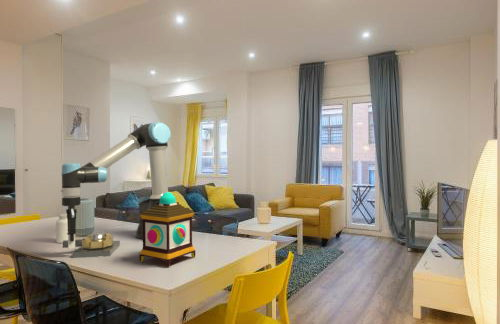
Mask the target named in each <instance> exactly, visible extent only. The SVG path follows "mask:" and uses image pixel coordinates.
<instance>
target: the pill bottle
mask: <svg viewBox="0 0 500 324" xmlns="http://www.w3.org/2000/svg"><path fill="white" fill-rule="evenodd" d="M67 230H68V222H67V213H60V214H58V219H57V220H56V222H55V242H56V243H57V244H58V243H59V244H63V241H64V240H68V235H67V233H68V231H67Z"/></svg>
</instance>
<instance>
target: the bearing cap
mask: <svg viewBox="0 0 500 324" xmlns="http://www.w3.org/2000/svg"><path fill="white" fill-rule="evenodd" d="M105 234H106V233H105V232H94V233H93V232H92V233H91V241H99V240H103V239H102V237H105ZM120 246H121V240H113V245H111V246H107V247H104V248H103V247H102V248H93V249H91V248H90V249H88V248H82V246H80V247H77V249H75V250H74V251H73V252H72V259H77V258H78V259H79V258H96V257H97V258H100V257H99V256H104V257H111V256H112V255H113V253H115V252H116V250H118V248H119V247H120Z"/></svg>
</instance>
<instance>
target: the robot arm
mask: <svg viewBox="0 0 500 324" xmlns="http://www.w3.org/2000/svg"><path fill="white" fill-rule="evenodd" d="M171 134H172V133H171V129H170V128H169V126H168V125H166V124H165V123H164V122H158V121H156V122H155V121H154V122H150V123H144V124H143V125H140V126H139V127H138V128H137V129H135V130H133V131H132V132H131V133H128V134H127V137H126V138H125V139H123V140H122V141H120V142H119V143H117V144H115V145H113V146H112V147H110V148H109V149H108V150H106V151H105V152H102V153H101V154H99V156H97V157H95V158H94V159H92V160H91V161H89V162H87V163H86V164H84V165H83V166H81V163H79V162H77V163H68V162H67V163H63V164H62V166H61V189H60V193H61V196H62V198H61V205H62V206H63V207H67V209H65V212H66V213H65V214H67V222H68V230H67V231H68V233H67V235H68V248H67V249H69V250H71V249H75V248H76V247H75V240H76V233H77V230H76V229H77V228H76V226H77V224H76V223H77V212H78V211H77V209H76V206H80V205H81V202H82V201H81V197H80V196H81V193H82V192H81V191H82V190H81V184H94V183H96V184H97V183H105V182H107V180H108V168H109V167H111V166H112V165H114V164H115V163H117V162H118V161H120V160H121V159H123V158H125V157H126V156H127V155H128V154H131V153H132V152H133V151H135V150H139V149H141V148H142V147H145V149H147V151H148V155H149V168H150V169H149V170H150V182H151V195H150V196H142V197H140V198H139V199H138V203H137V205H138V225H137V229H136V231H135V238H137V239H142V240H143V220H142V218H141V216H140V214H142V212H144V211H145V210H147V209H151V208H152V207H153V206H154V205H156V203H160V197H161V196H162V195H163V194H164V193H166V192H169V187H168V186H169V185H168V172H167V157H166V149H167V148H168V146H169V145H168V142H169V141H170V139H171Z"/></svg>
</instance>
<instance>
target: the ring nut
mask: <svg viewBox="0 0 500 324" xmlns="http://www.w3.org/2000/svg"><path fill="white" fill-rule="evenodd" d="M91 234H92V233H91ZM91 234H87V235H86V237H85V238H81V239H75V248H79V247H81V246H82V248H88V249H90V248H91V249H93V248H102V247H103V248H104V247H107V246H111V245H113V241H114V237H113V236H112V235H111V232H110V233H109V232H106V233H105V237H102V239H103V240H99V241H91ZM62 248H63V249H64V248H65V249H68V240H64V241H63V243H62Z"/></svg>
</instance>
